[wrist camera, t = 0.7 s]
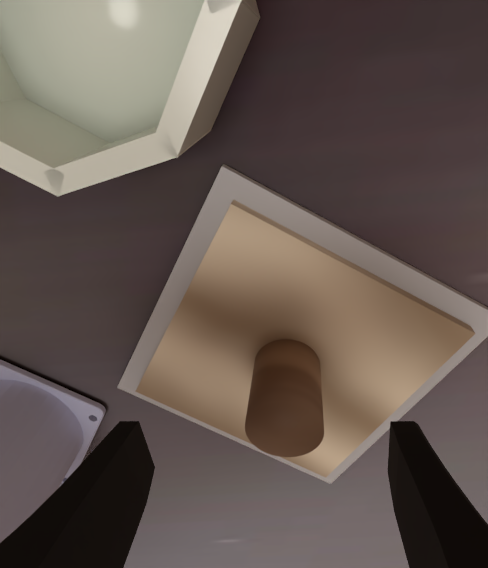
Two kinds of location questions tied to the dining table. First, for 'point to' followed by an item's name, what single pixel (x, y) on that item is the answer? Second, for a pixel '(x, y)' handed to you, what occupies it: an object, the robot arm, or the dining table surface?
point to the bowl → (112, 83)
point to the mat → (325, 235)
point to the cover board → (301, 307)
